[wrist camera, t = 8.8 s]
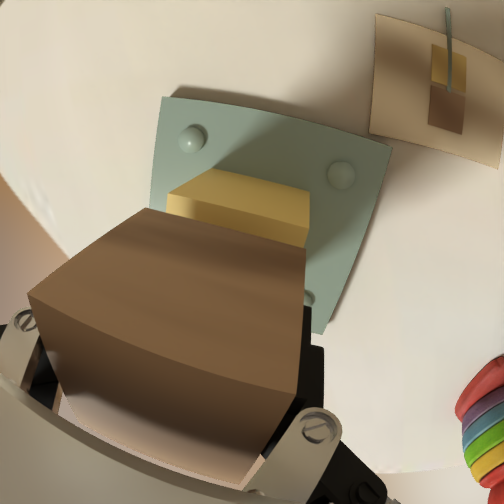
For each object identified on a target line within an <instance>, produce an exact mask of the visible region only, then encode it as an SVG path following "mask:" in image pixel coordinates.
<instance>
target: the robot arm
mask: <svg viewBox="0 0 504 504" xmlns="http://www.w3.org/2000/svg"><path fill="white" fill-rule="evenodd" d="M311 321H312V307H310V306H306V305H304V306H303V321H302V335H301V348H300V360H299V371H298V381H297V391H296V396H295V397H294V399H293V401H292V403H291V404H290V406H289V408H288V410H287V411H286V413H285V415H284V416H283V418H282V420H281V422H280V423H279V425H278V426H277V428H276V430H275V431H274V433H273V435H272V436H271V438H270V439H269V441H268V443H267V444H266V446H265V447H264V449H263V450H262V452H261V453H260V454H261V455H262V456H263V457H264V458H265V462H264V463H263V464H262V466H261V467H260V468H259V470H258V471H257V472H256V474H255V475H254V476H253V477H252V479H251V480H250V481H249V482H248V484H247V485H246V486H245V487H244V489H243V490H242V491H240V490H235V489H231V488H227V487H224V486H220V485H216V484H212V483H209V482H206V481H202V480H199V479H195V478H192V477H189V476H186V475H183V474H180V473H177V472H174V471H172V470H169V469H166V468H163V467H160V466H158V465H156V464H153V463H151V462H148V461H146V460H143V459H141V458H139V457H136V456H134V455H132V454H130V453H127V452H125V451H123V450H121V449H119V448H117V447H115V446H112V445H110V444H108V443H106V442H104V441H102V440H101V439H99V438H97V437H95V436H93V435H91V434H89V433H88V432H86V431H84V430H82V429H80V428H79V427H77V426H75V425H74V424H72V423H70V422H68V421H67V420H65V419H64V418H62V417H60V416H59V415H58V411H59V406H60V401H61V397H62V393H63V390H62V388H61V386H60V384H59V381H58V379H57V377H56V375H55V372H54V370H53V368H52V365H51V363H50V360H49V358H48V355H47V353H46V350H45V348H44V345H43V342H42V339H41V337H40V334H39V331H38V328H37V325H36V322H35V319H34V316H33V312H32V309H31V307H25V308H22V309H20V310H18V311H17V312H16V313H15V314H14V315H13V316H12V318H11V320H10V321H9V323H8V324H6V325H0V504H401V503H399V502H398V501H397V500H396V499H393V500H391V499H390V498H389V497H388V496H387V489H386V486H385V484H384V483H383V482H382V480H381V479H380V478H379V477H378V476H377V475H376V474H375V473H374V472H373V471H371V470H370V469H369V468H368V467H367V466H366V465H365V464H364V463H363V462H362V461H361V460H360V459H359V458H358V457H357V456H356V455H355V454H354V453H353V452H352V451H351V450H350V449H349V448H348V447H347V446H346V445H345V444H344V443H343V442H342V441H341V440H340V439H341V436H342V425H341V423H340V421H339V419H338V418H337V417H336V416H335V415H334V414H333V413H331V412H330V411H328V410H326V409H323V404H324V348H323V347H320V346H315V345H311Z"/></svg>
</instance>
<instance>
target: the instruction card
mask: <svg viewBox="0 0 504 504" xmlns="http://www.w3.org/2000/svg"><path fill="white" fill-rule="evenodd" d="M445 11H446V25H447V35H444V34H442V33H439V32H436V31H434V30H431V29H428V28H425V27H422V26H419V25H416V24H412V23H409V22H406V21H402V20H399V19H395V18H391V17H387V16H383V15H379V14H376V15H375V60H374V79H373V93H372V105H371V116H370V125H369V133H370V134H375V135H380V136H385V137H389V138H394V139H398V140H403V141H407V142H411V143H415V144H419V145H423V146H427V147H430V148H434V149H437V150H441V151H444V152H448V153H451V154H454V155H458V156H461V157H464V158H467V159H470V160H473V161H476V162H479V163H482V164H485V165H487V166H490V167H493V168H495V169H498V167H499V162H500V155H501V148H502V141H503V132H504V62H503V61H501V60H499V59H497V58H495V57H494V56H492V55H490V54H488V53H486V52H484V51H482V50H479V49H477V48H475V47H473V46H471V45H469V44H466V43H464V42H462V41H459V40H457V39H455V38H452V35H451V18H450V9H449V8H447V7H445Z"/></svg>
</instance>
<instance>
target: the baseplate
mask: <svg viewBox="0 0 504 504" xmlns="http://www.w3.org/2000/svg"><path fill="white" fill-rule="evenodd" d="M392 148H393V147H390V146H387V145H384V144H382V143H379V142H376V141H373V140H370V139H367V138H364V137H361V136H358V135H355V134H352V133H349V132H345V131H342V130H339V129H335V128H332V127H328V126H325V125H321V124H318V123H314V122H310V121H306V120H302V119H298V118H294V117H290V116H286V115H281V114H277V113H272V112H267V111H262V110H257V109H252V108H247V107H241V106H235V105H229V104H223V103H216V102H209V101H201V100H193V99H184V98H174V97H162V101H161V107H160V113H159V120H158V127H157V134H156V142H155V150H154V159H153V168H152V179H151V191H150V204H149V208H150V209H154V210H158V211H162V212H166V205H167V195H168V193H169V192H171V191H172V190H174V189H176V188H177V187H179V186H181V185H182V184H184V183H186V182H188V181H189V180H191V179H193V178H194V177H196V176H198V175H200V174H202V173H203V172H205V171H207V170H209V169H211V168H214V169H218V170H223V171H228V172H232V173H237V174H241V175H245V176H250V177H254V178H258V179H262V180H266V181H270V182H274V183H278V184H282V185H286V186H290V187H294V188H298V189H301V190H305V191H309V192H310V216H309V231H308V235H307V238H306V241H305V244H304V248H305V249H306V268H305V288H304V305H306V306H310V307H312V321H311V332H312V333H316V334H320V335H323V332H324V330H325V328H326V326H327V324H328V322H329V319H330V317H331V315H332V313H333V311H334V308H335V306H336V304H337V302H338V299H339V297H340V295H341V292H342V290H343V288H344V285H345V283H346V280H347V278H348V276H349V273H350V271H351V268H352V266H353V263H354V261H355V258H356V255H357V253H358V250H359V248H360V245H361V242H362V240H363V237H364V234H365V232H366V229H367V226H368V223H369V220H370V218H371V215H372V212H373V209H374V206H375V203H376V200H377V197H378V194H379V191H380V188H381V185H382V182H383V178H384V175H385V172H386V169H387V165H388V162H389V158H390V155H391V151H392Z"/></svg>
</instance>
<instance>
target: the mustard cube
mask: <svg viewBox="0 0 504 504" xmlns="http://www.w3.org/2000/svg"><path fill="white" fill-rule="evenodd" d="M166 213H170V214H174V215H178V216H182V217H186V218H190V219H194V220H198V221H202V222H206V223H209V224H213V225H217V226H221V227H225V228H229V229H233V230H237V231H241V232H244V233H248V234H252V235H256V236H260V237H263V238H267V239H271V240H275V241H279V242H282V243H286V244H290V245H294V246H297V247H301V248H304V244H305V241H306V238H307V235H308V231H309V216H310V192H309V191H305V190H301V189H298V188H294V187H290V186H286V185H282V184H278V183H274V182H270V181H266V180H262V179H258V178H254V177H250V176H245V175H241V174H237V173H232V172H228V171H223V170H218V169H214V168H211V169H209V170H207V171H205V172H203V173H202V174H200V175H198V176H196V177H194V178H193V179H191V180H189V181H188V182H186V183H184V184H182V185H181V186H179V187H177V188H176V189H174V190H172V191H171V192H169V193H168V195H167V205H166Z"/></svg>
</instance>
